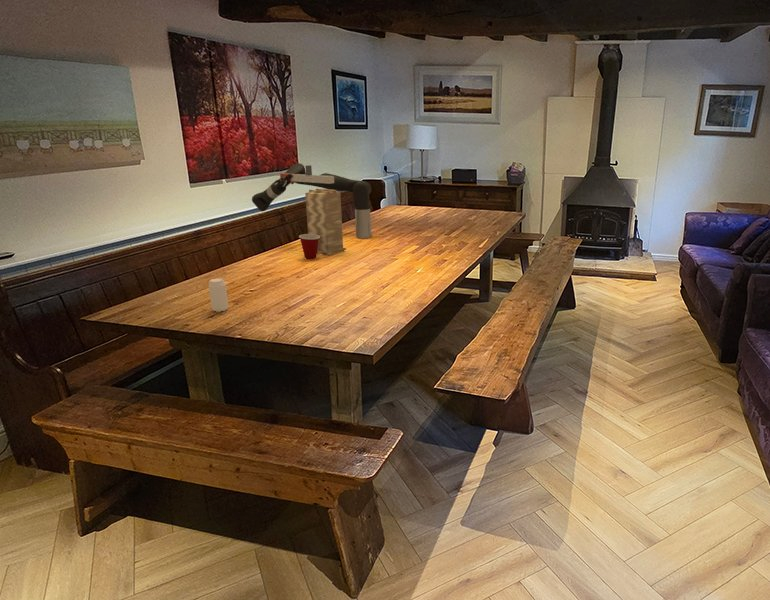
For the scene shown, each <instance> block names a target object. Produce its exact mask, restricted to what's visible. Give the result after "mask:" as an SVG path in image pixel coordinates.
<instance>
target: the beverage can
mask: <svg viewBox="0 0 770 600" xmlns="http://www.w3.org/2000/svg"><path fill="white" fill-rule="evenodd" d="M208 292H209V299H210V300H209V301H210V306H211V307H210V308H211V310H212V311H214V312H215V311H216V313H221V311H223V312H225V311H227V310H228V309H229V302H228V301H229V298H228V294H227V293H228V292H227V285H226V282H225V280H224V278H221V277H218V278H217V277H216V278H212V279H210V280H209V283H208Z"/></svg>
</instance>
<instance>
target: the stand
mask: <svg viewBox="0 0 770 600" xmlns="http://www.w3.org/2000/svg"><path fill="white" fill-rule="evenodd" d="M304 195H305V206H306V207H305V208H306V210H305V211H306V223H307V234H315V235H319V236H320V238H319V241H318V248H317V255H320V254H322V255H321V256H326V255H328V256H329V255H330V256H333V255H332V254H334V255H336V254H335V253H337V254H339V253H338V252H340V253H342V252H341V251H343V252H345V251H344V250H346V251H347V249H346V247H344V237H343V220H342V219H343V218H342V217H343V215H342V198H341V191H337V190H329V189H325V188H315V189H309V190H308V192H305V193H304ZM328 256H327V257H328ZM330 256H329V257H330Z"/></svg>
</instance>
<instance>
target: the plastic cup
mask: <svg viewBox="0 0 770 600" xmlns="http://www.w3.org/2000/svg"><path fill="white" fill-rule="evenodd" d="M298 237H299V239H300V240H299V241H300V243H301V248H302V252H303V256H304V259H305V258H306V259H305V260H315V259H317V256H318V254H317V248H318V241H319V238H320V236H319V235H315V234H308V233H304V234H300V235H299V236H298Z"/></svg>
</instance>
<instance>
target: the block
mask: <svg viewBox="0 0 770 600" xmlns="http://www.w3.org/2000/svg"><path fill="white" fill-rule="evenodd" d="M305 172H306V175H304V174H292V173H286V172H285V173H284V172H283V173H282V172H281V173H280V174H279V179H280V178H284V177H286V176H287V175H288V174H291V176H292V178H290V179H289V180H287V181H296V182H311V183H327V184H331V183H334V176H323V175H321V174H318V175H317V174H313V171H312V165H309V164H308V165H305Z"/></svg>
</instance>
